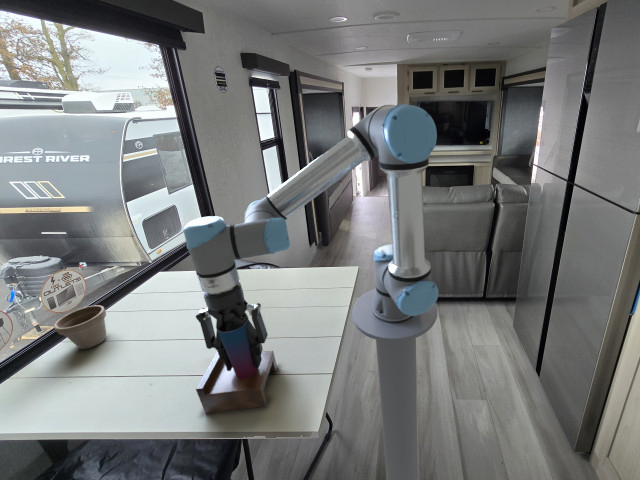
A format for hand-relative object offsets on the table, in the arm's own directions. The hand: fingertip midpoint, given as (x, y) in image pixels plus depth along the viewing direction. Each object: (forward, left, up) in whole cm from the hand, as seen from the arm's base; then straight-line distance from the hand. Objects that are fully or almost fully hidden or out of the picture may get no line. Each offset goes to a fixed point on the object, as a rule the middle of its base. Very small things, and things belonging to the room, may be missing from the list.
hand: (245, 365), depth 77 cm
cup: (0, 0, -2) cm, 2 cm away
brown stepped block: (+2, 0, -8) cm, 8 cm away
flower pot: (+57, -25, -8) cm, 63 cm away
